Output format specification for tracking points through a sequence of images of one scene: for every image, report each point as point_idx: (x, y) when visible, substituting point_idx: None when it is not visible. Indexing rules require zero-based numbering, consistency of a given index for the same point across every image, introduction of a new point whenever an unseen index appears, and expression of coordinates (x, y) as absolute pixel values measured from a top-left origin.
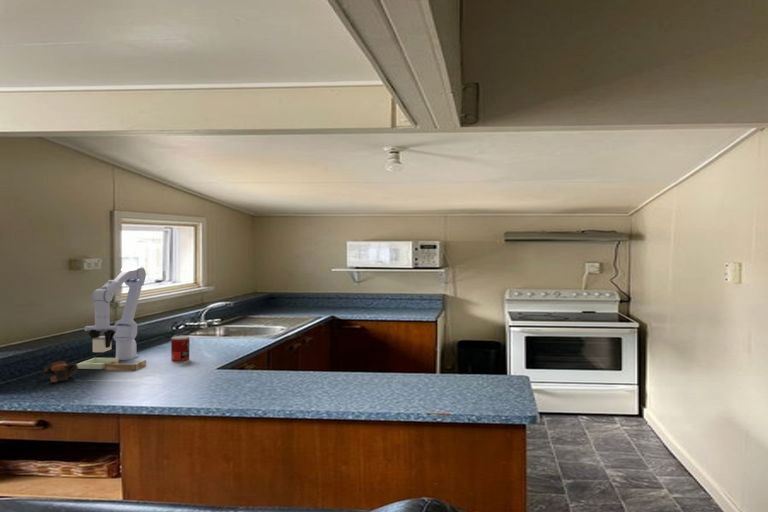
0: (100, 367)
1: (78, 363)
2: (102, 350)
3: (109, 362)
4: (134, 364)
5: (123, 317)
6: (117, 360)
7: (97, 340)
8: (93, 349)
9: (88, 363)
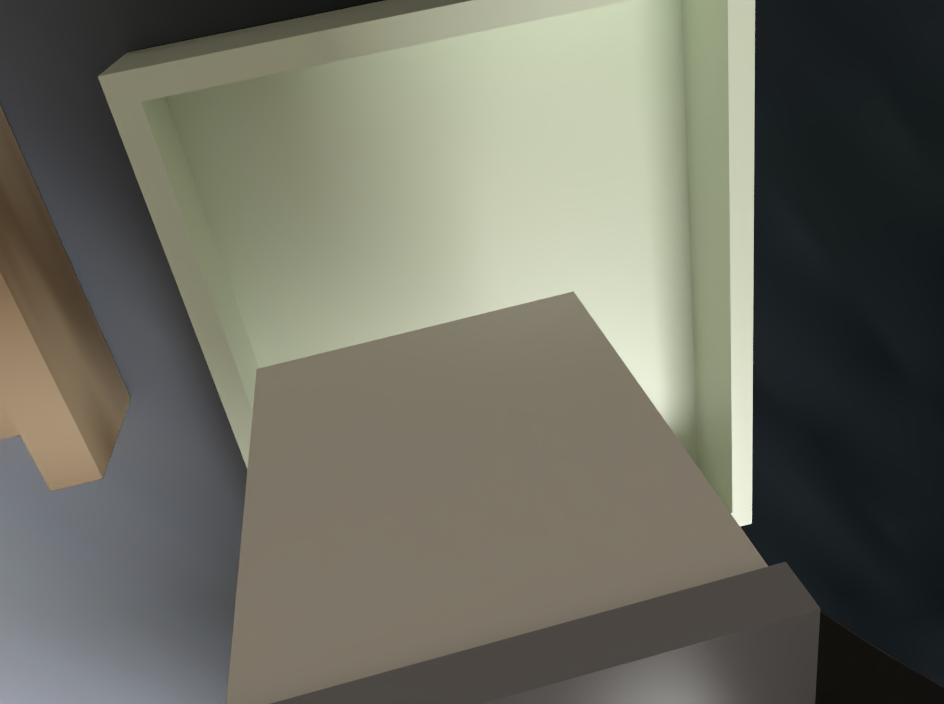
0: (152, 52)
1: (744, 2)
2: (257, 395)
3: (216, 366)
4: None
5: None
6: (20, 434)
7: (505, 607)
8: (570, 337)
9: (701, 308)
